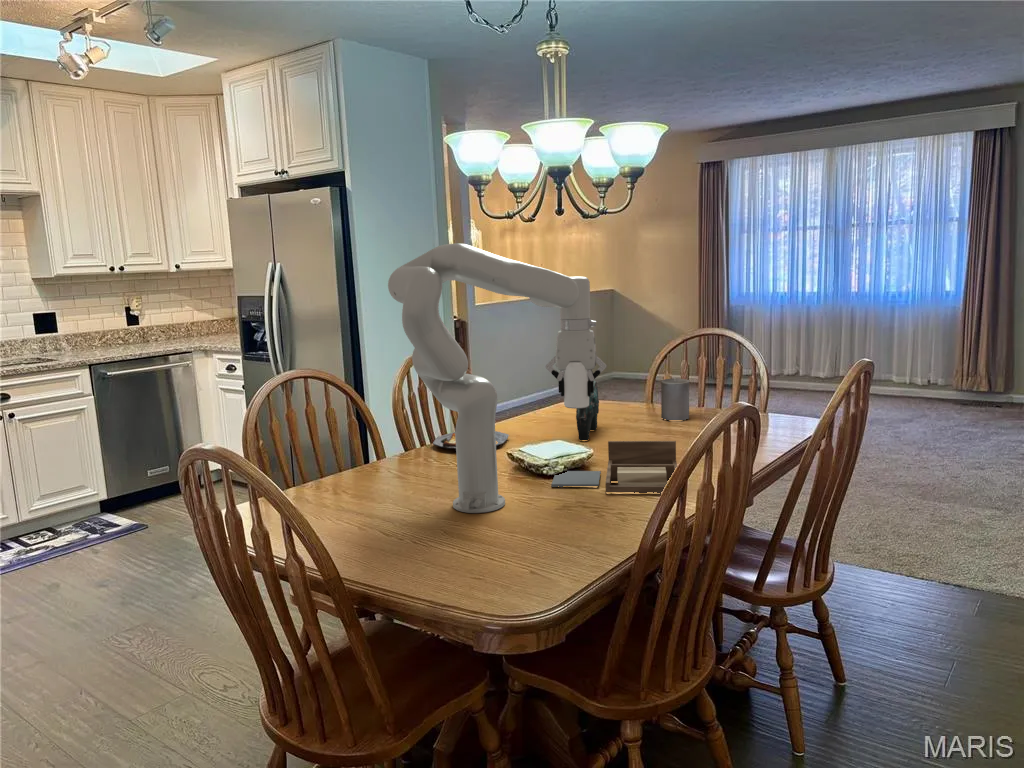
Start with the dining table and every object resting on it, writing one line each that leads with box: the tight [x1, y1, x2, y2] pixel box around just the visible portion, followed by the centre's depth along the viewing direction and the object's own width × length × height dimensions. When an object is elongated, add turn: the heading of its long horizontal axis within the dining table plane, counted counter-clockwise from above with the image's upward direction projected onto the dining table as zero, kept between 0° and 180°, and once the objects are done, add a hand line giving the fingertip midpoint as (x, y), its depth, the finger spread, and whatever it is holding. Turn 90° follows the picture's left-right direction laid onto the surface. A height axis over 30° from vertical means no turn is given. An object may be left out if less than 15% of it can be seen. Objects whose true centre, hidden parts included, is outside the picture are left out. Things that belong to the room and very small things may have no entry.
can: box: [563, 361, 589, 410], centre depth 193 cm, size 6×6×12 cm
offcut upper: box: [617, 467, 667, 482], centre depth 190 cm, size 5×12×2 cm, turn 81°
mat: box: [551, 470, 602, 487], centre depth 198 cm, size 12×12×1 cm
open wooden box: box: [605, 440, 678, 494], centre depth 194 cm, size 22×18×8 cm
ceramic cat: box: [575, 380, 600, 441], centre depth 247 cm, size 20×6×20 cm, turn 164°
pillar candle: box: [660, 377, 690, 421], centre depth 265 cm, size 10×10×15 cm
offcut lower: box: [617, 478, 668, 486], centre depth 190 cm, size 5×12×2 cm, turn 82°
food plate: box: [432, 430, 510, 450], centre depth 243 cm, size 25×23×4 cm
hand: (576, 395), depth 194 cm, fingers closed on can, 6 cm apart
